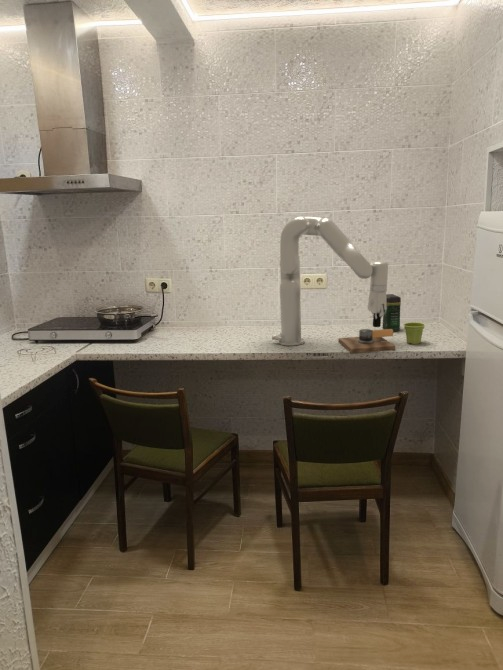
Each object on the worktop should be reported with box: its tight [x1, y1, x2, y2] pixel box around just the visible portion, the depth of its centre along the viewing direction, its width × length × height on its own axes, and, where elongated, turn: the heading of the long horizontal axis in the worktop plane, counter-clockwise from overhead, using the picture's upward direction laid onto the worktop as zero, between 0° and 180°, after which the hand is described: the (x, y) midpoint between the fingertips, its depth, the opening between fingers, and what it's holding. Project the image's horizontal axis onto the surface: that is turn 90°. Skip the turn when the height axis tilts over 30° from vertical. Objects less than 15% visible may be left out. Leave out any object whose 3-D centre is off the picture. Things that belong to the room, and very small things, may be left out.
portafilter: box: [358, 328, 394, 341], centre depth 221 cm, size 8×16×4 cm, turn 96°
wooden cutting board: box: [338, 336, 396, 354], centre depth 221 cm, size 20×20×3 cm
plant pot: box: [403, 321, 426, 345], centre depth 223 cm, size 9×9×9 cm
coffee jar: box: [382, 293, 402, 333], centre depth 248 cm, size 10×8×19 cm
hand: (376, 326), depth 228 cm, fingers closed
